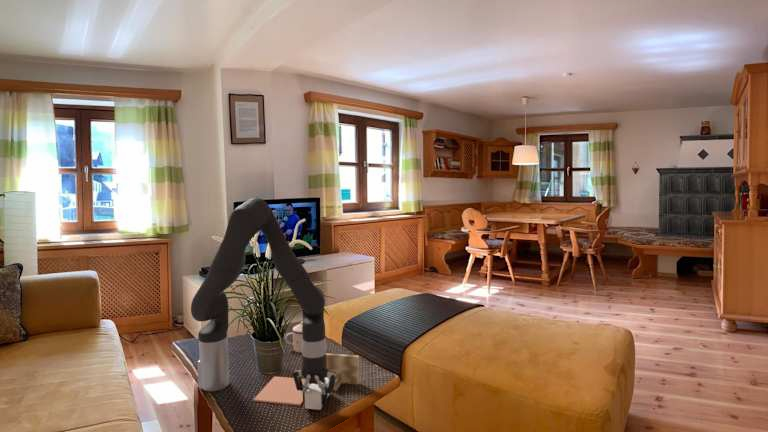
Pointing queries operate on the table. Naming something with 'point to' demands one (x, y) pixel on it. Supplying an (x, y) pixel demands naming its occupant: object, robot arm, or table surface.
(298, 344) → the teacup with lid
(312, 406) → the white block
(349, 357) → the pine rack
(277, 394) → the terracotta tile
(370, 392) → the table surface
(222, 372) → the robot arm
